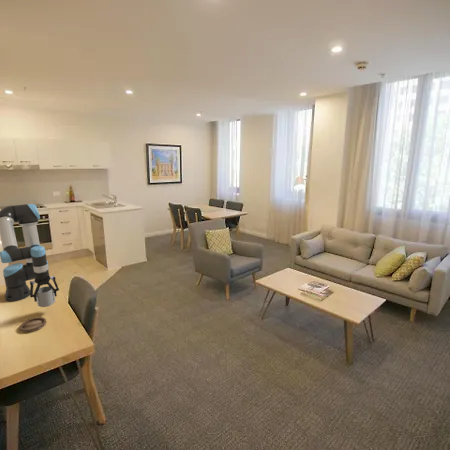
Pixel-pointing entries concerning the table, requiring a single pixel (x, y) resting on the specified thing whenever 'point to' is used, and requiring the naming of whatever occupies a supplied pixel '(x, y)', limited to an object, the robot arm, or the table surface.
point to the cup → (45, 296)
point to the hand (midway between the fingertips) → (46, 303)
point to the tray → (33, 324)
